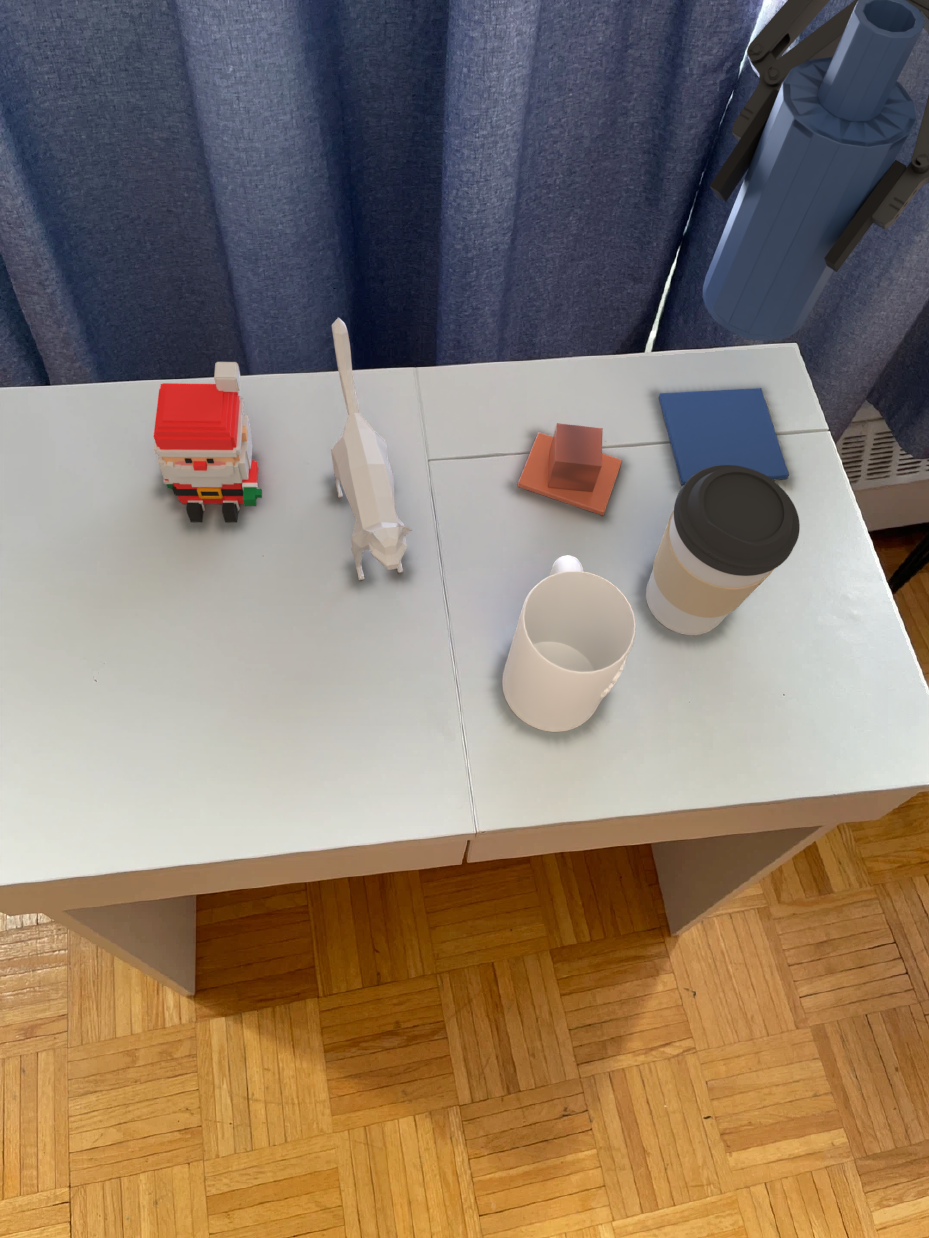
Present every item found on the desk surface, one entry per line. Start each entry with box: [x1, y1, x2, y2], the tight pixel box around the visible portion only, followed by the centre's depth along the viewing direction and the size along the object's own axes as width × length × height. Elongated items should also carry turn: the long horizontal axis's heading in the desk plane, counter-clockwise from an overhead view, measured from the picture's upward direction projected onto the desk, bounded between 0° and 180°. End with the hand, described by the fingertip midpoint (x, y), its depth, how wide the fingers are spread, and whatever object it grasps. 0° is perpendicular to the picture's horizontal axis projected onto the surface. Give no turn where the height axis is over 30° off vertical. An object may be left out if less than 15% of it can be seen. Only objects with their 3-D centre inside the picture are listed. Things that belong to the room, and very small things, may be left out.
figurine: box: [153, 361, 263, 523], centre depth 75 cm, size 8×7×12 cm
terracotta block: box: [548, 422, 604, 492], centre depth 81 cm, size 4×4×4 cm
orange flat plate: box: [517, 431, 623, 516], centre depth 83 cm, size 8×6×1 cm
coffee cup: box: [645, 465, 801, 636], centre depth 72 cm, size 9×9×15 cm
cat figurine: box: [330, 317, 413, 581], centre depth 74 cm, size 4×20×14 cm, turn 14°
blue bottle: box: [702, 0, 925, 342], centre depth 60 cm, size 8×8×21 cm
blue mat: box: [658, 387, 790, 486], centre depth 87 cm, size 10×10×1 cm
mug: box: [501, 554, 637, 733], centre depth 70 cm, size 8×12×12 cm
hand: (773, 229), depth 61 cm, fingers closed on blue bottle, 8 cm apart
